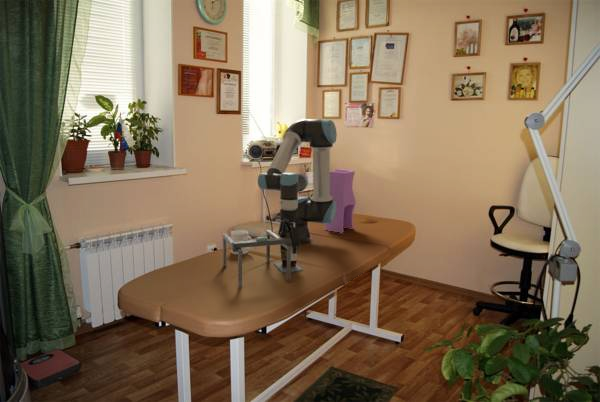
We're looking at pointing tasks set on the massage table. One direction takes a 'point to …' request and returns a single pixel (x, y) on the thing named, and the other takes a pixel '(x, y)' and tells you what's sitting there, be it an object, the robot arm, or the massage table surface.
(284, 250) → the coffee cup
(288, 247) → the frame
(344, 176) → the purple arched stand
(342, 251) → the massage table surface
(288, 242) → the bar
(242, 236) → the mug
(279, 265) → the mat
